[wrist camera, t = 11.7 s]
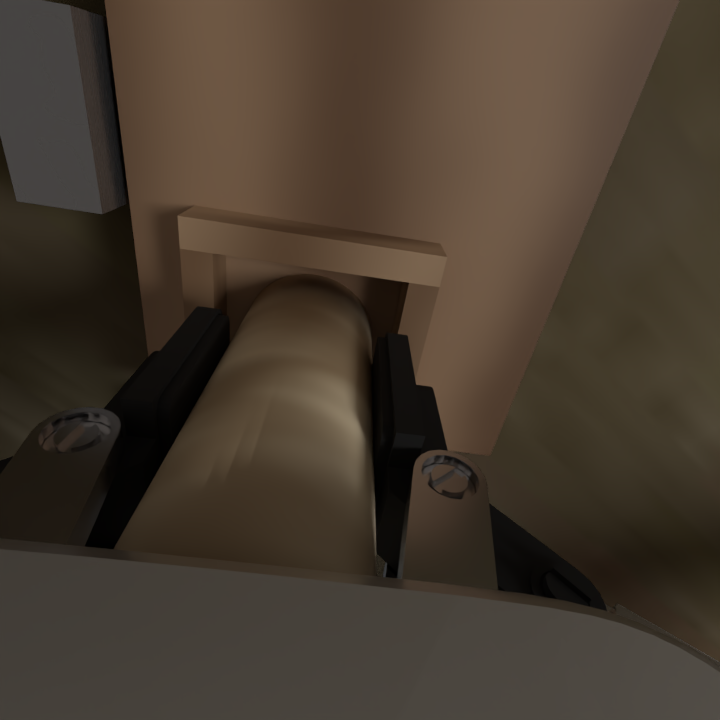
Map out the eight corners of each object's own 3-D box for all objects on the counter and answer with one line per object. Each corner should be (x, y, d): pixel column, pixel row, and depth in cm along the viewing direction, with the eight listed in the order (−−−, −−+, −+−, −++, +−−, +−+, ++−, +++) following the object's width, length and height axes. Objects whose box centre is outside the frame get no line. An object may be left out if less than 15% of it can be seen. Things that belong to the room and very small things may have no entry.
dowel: (377, 279, 12) (396, 582, 5) (365, 388, 14) (364, 729, 6) (244, 268, 12) (27, 560, 4) (250, 379, 14) (109, 717, 6)
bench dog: (156, 33, 12) (69, 5, 8) (167, 186, 14) (102, 214, 10) (80, 19, 12) (-38, -15, 8) (104, 176, 14) (16, 201, 10)
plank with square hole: (665, -134, 10) (833, -267, 6) (472, 406, 18) (499, 480, 15) (143, -251, 9) (0, -477, 6) (186, 368, 17) (139, 437, 14)
